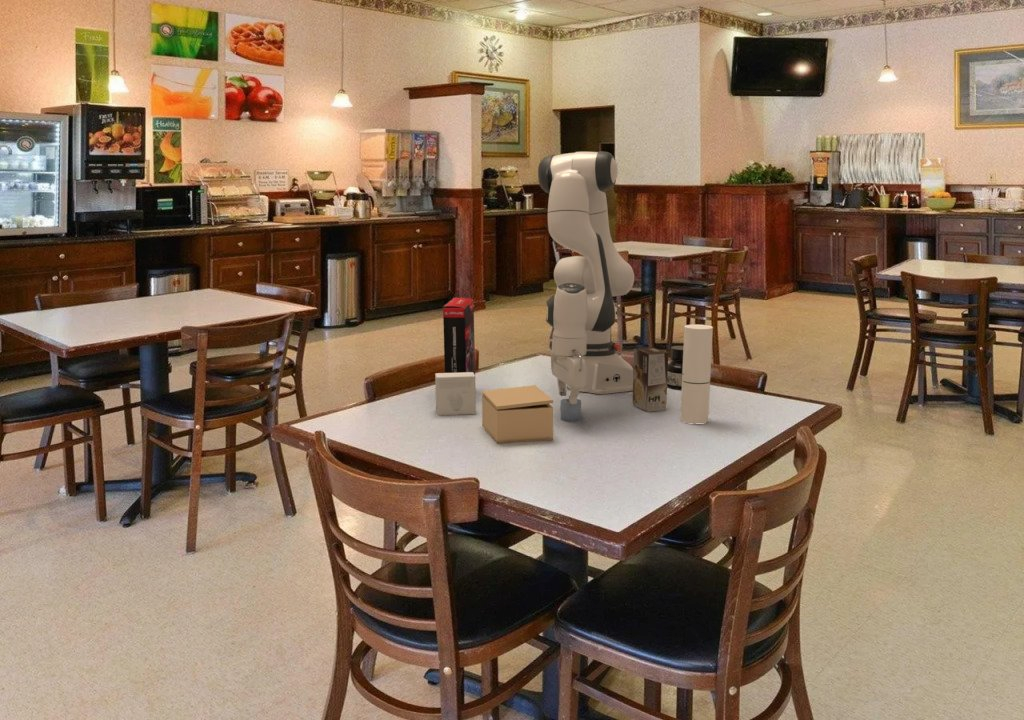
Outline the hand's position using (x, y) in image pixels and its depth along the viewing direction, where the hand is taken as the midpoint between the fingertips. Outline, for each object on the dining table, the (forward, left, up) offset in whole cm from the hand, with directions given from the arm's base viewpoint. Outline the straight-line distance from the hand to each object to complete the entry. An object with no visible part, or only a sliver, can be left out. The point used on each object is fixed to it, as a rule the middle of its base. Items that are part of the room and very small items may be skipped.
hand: (567, 399), depth 244 cm
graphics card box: (+22, -33, -6) cm, 40 cm away
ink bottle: (-45, -28, -6) cm, 54 cm away
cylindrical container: (-32, +9, -6) cm, 34 cm away
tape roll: (-1, 0, -6) cm, 6 cm away
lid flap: (+16, +9, +3) cm, 19 cm away
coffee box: (-26, -7, -6) cm, 28 cm away
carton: (+16, +9, -6) cm, 19 cm away
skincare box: (+27, -14, -6) cm, 31 cm away
